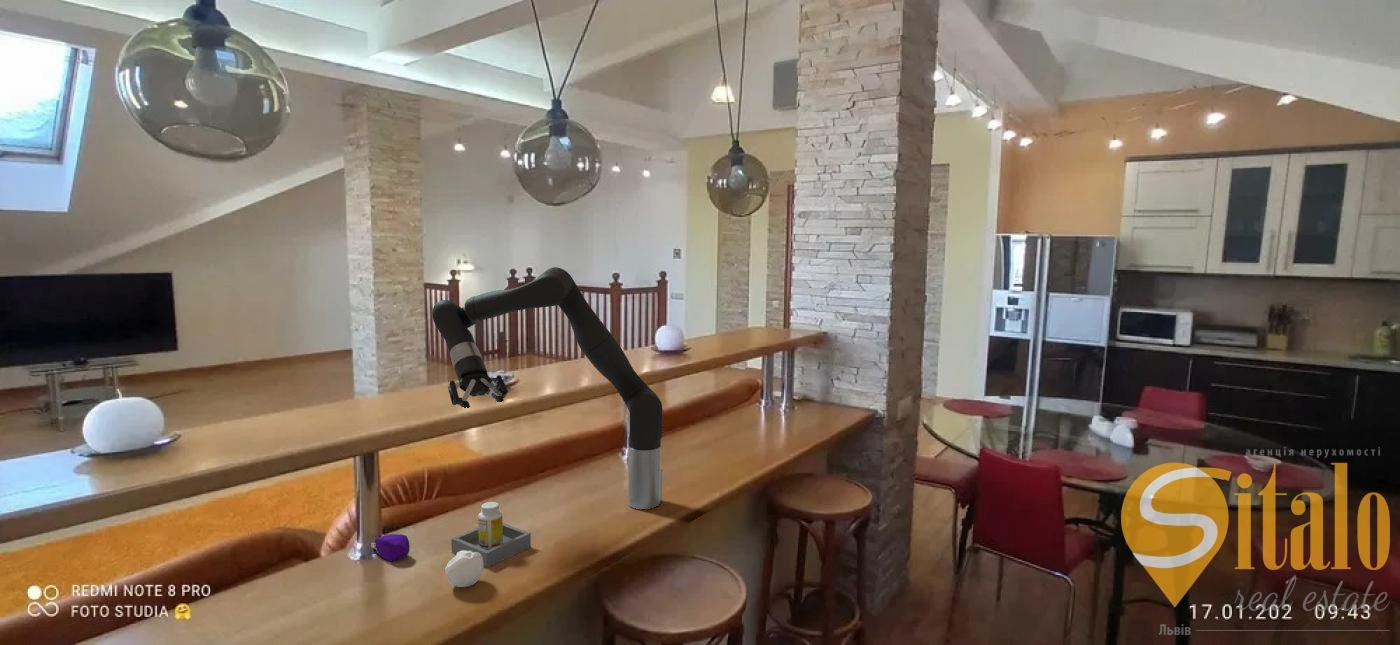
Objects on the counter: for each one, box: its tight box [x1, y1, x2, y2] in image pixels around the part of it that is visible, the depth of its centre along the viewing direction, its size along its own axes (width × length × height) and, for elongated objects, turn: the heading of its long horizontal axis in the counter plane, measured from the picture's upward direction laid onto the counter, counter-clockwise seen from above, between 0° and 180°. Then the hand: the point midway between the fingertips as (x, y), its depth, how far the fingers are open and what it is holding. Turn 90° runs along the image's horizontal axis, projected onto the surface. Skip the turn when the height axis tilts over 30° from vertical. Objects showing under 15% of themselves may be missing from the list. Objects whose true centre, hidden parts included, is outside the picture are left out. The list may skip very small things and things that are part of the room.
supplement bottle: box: [477, 501, 504, 550], centre depth 157 cm, size 6×6×10 cm
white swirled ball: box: [444, 551, 484, 588], centre depth 140 cm, size 8×8×8 cm
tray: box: [450, 522, 532, 568], centre depth 157 cm, size 13×13×4 cm
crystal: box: [375, 533, 410, 562], centre depth 154 cm, size 5×5×15 cm
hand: (486, 413), depth 166 cm, fingers open, 8 cm apart
